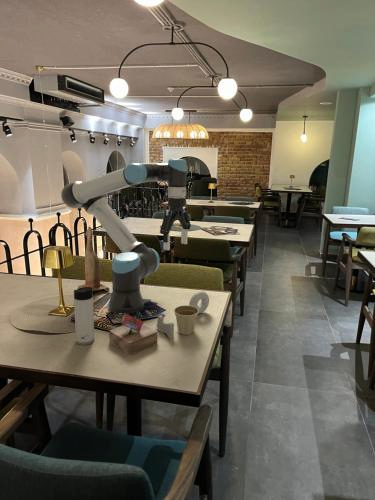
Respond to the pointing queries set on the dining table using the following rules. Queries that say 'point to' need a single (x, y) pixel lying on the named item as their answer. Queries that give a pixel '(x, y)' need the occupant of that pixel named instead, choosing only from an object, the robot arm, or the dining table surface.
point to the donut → (204, 301)
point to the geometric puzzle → (132, 323)
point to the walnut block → (133, 338)
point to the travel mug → (84, 315)
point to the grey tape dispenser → (165, 327)
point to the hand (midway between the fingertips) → (175, 246)
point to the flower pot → (186, 318)
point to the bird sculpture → (92, 266)
